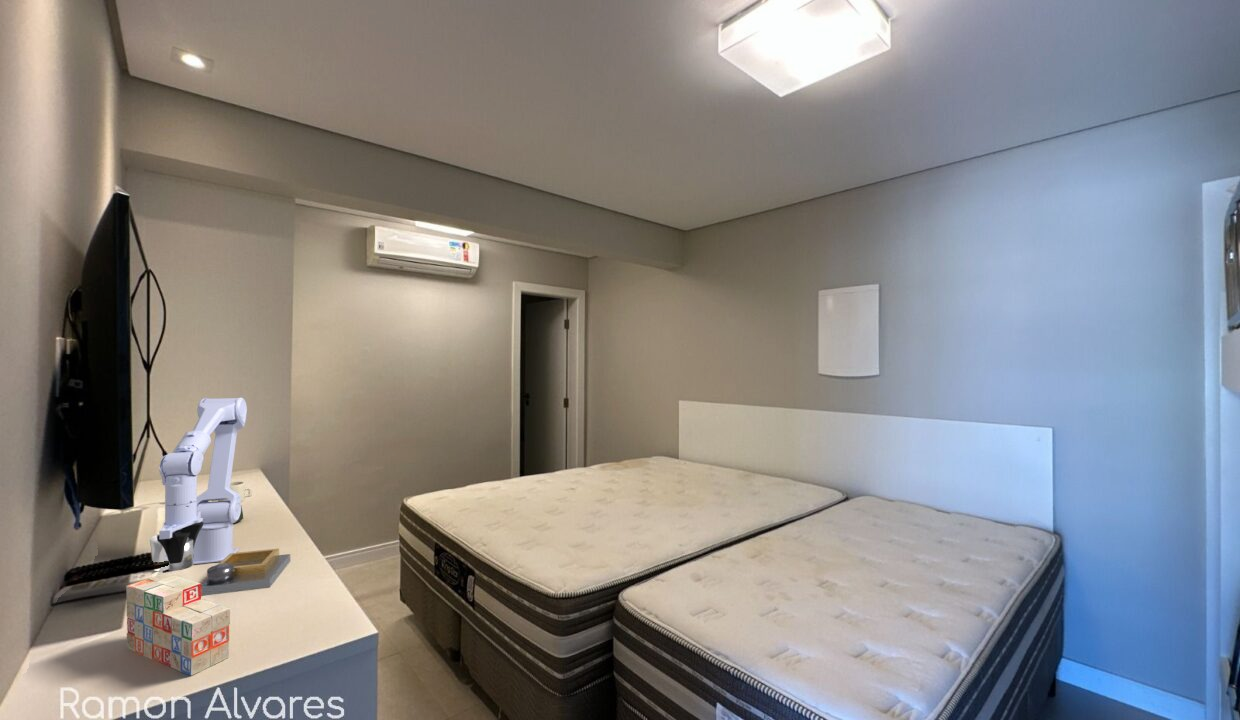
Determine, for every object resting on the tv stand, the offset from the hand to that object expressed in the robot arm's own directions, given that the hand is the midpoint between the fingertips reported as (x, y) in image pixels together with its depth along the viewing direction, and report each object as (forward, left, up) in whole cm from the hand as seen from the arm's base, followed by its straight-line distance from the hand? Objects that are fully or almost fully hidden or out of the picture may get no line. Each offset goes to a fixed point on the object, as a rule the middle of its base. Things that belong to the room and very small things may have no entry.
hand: (181, 558), depth 119 cm
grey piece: (+13, +2, -7) cm, 15 cm away
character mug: (-8, +52, -7) cm, 53 cm away
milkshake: (-10, +14, -7) cm, 19 cm away
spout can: (0, 0, -2) cm, 2 cm away
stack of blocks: (+13, -32, -7) cm, 35 cm away
